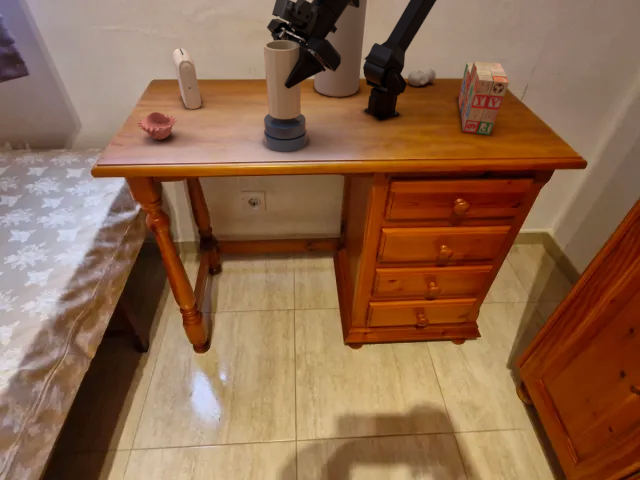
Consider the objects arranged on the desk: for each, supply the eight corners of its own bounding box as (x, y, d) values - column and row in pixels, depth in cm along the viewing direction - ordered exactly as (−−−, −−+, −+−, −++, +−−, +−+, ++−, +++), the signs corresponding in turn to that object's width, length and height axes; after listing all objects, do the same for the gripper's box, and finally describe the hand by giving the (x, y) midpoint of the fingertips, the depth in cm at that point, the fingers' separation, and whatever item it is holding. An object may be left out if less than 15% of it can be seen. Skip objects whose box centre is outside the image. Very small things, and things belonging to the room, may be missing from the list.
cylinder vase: (334, 78, 113) (340, -23, 96) (367, 89, 107) (379, -16, 90) (305, 88, 106) (305, -18, 89) (337, 101, 100) (344, -10, 83)
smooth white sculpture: (409, 91, 109) (404, 80, 112) (435, 89, 111) (429, 78, 113) (413, 78, 106) (408, 67, 108) (440, 76, 107) (434, 65, 109)
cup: (280, 103, 82) (276, 38, 73) (306, 110, 80) (306, 43, 71) (262, 114, 78) (256, 46, 69) (289, 122, 75) (287, 52, 67)
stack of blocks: (457, 97, 104) (470, 49, 96) (480, 99, 103) (495, 51, 95) (462, 132, 88) (479, 78, 80) (490, 135, 88) (509, 81, 79)
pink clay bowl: (144, 130, 85) (136, 106, 81) (181, 128, 86) (175, 104, 83) (140, 147, 79) (131, 122, 76) (179, 144, 81) (173, 119, 77)
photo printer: (203, 107, 95) (193, 55, 87) (186, 110, 94) (174, 57, 85) (196, 93, 102) (187, 43, 93) (180, 95, 100) (169, 44, 92)
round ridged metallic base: (293, 128, 88) (293, 105, 84) (314, 145, 82) (314, 121, 78) (257, 137, 84) (255, 114, 80) (276, 155, 78) (275, 131, 75)
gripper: (272, -32, 70) (226, 41, 73) (330, -16, 59) (272, 70, 62) (308, 12, 79) (265, 76, 82) (364, 33, 68) (312, 106, 70)
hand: (277, 81), depth 74 cm, fingers closed on cup, 7 cm apart
